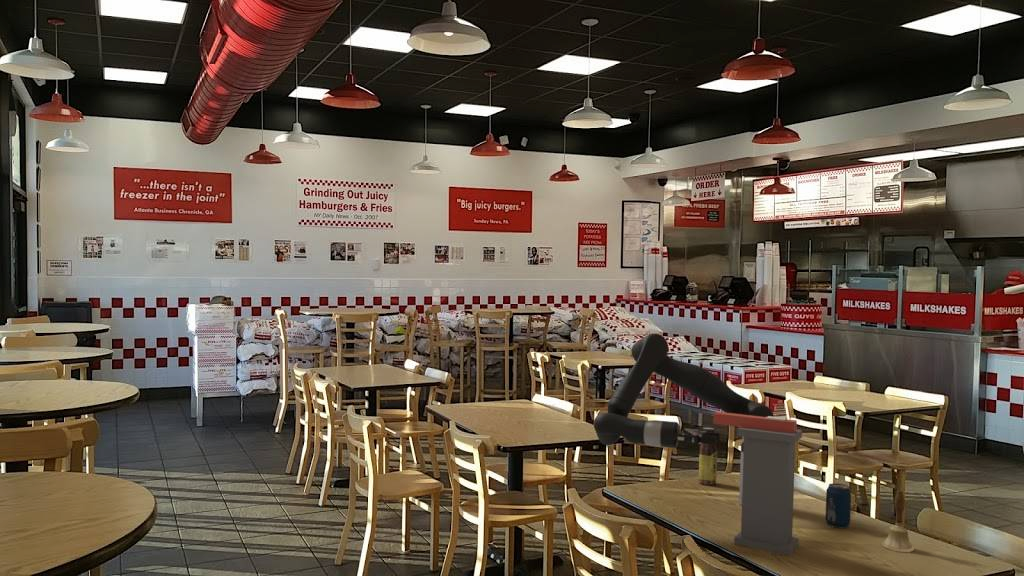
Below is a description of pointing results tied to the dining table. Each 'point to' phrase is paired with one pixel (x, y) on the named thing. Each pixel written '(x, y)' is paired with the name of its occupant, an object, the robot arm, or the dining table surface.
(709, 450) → the sauce bottle
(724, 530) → the dining table surface
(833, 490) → the soda can
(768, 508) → the pedestal
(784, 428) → the red bar
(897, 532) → the hand bell
